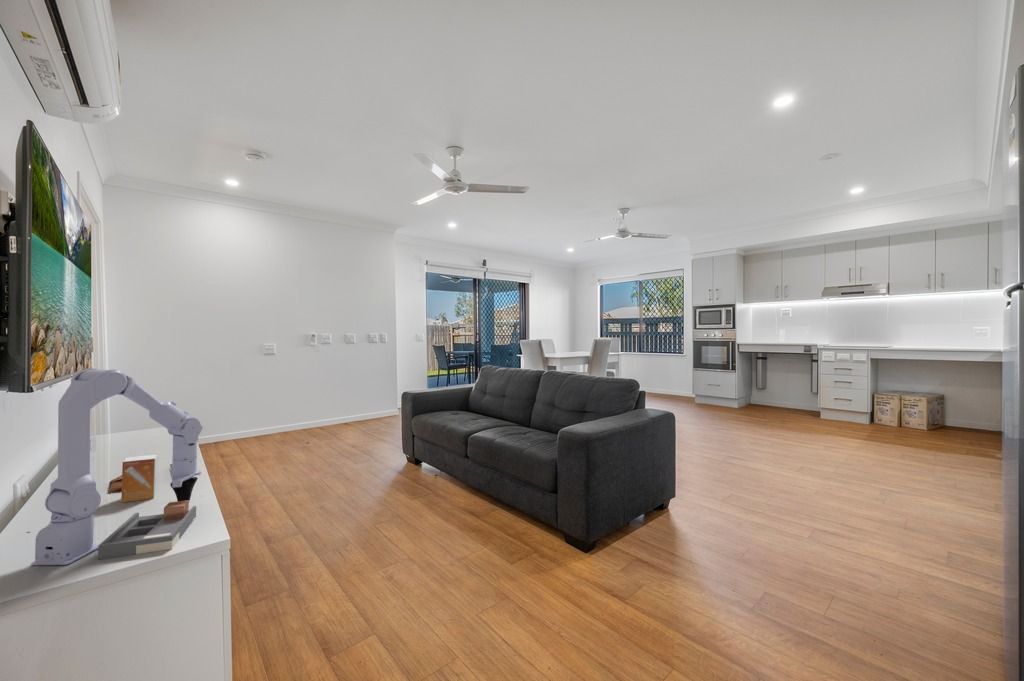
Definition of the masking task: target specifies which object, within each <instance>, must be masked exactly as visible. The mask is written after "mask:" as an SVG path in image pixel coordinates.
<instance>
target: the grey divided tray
mask: <svg viewBox="0 0 1024 681" xmlns="http://www.w3.org/2000/svg"><path fill="white" fill-rule="evenodd" d="M195 517H196V518H197V506H196V505H194V506H193V505H192V507H191V508H190V510H189V512H188V513H187V514H186V515H185V517H184V518H183V519H175V520H167V521H164V513H161V514H152V515H143V516H140V512H134V514H132V515H131V516H130V517H129V518H128V519H127V520H125V521H124V522H123V523H122V524H121V525H120V526H119V527H118V528H117V529H116V530H114V531H113V532H112V533H111V534H109V536H108V537H107V538H105V539H104V540H103V541H102V542H101V543H99V544H100V545H99V546H98V549H97V560H104V559H111V558H113V559H114V558H118V557H119V558H120V557H125V556H132V555H133V556H134V555H139V554H145V553H146V554H147V553H152V552H160V551H161V552H162V551H168V550H173V549H174V547H175V546H176V544H177V543H178V541H179V540H180V539H181V537H182V536H183V535H185V533H186V532H187V530H188V529H189V527H190V526H191V525H192V523H193V522H194V521H193V519H194V518H195ZM196 518H195V519H196ZM195 519H194V520H195ZM192 521H193V522H192ZM191 522H192V523H191ZM190 524H191V525H190ZM189 525H190V526H189ZM187 528H188V529H187ZM186 529H187V530H186ZM184 532H185V533H184Z"/></svg>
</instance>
